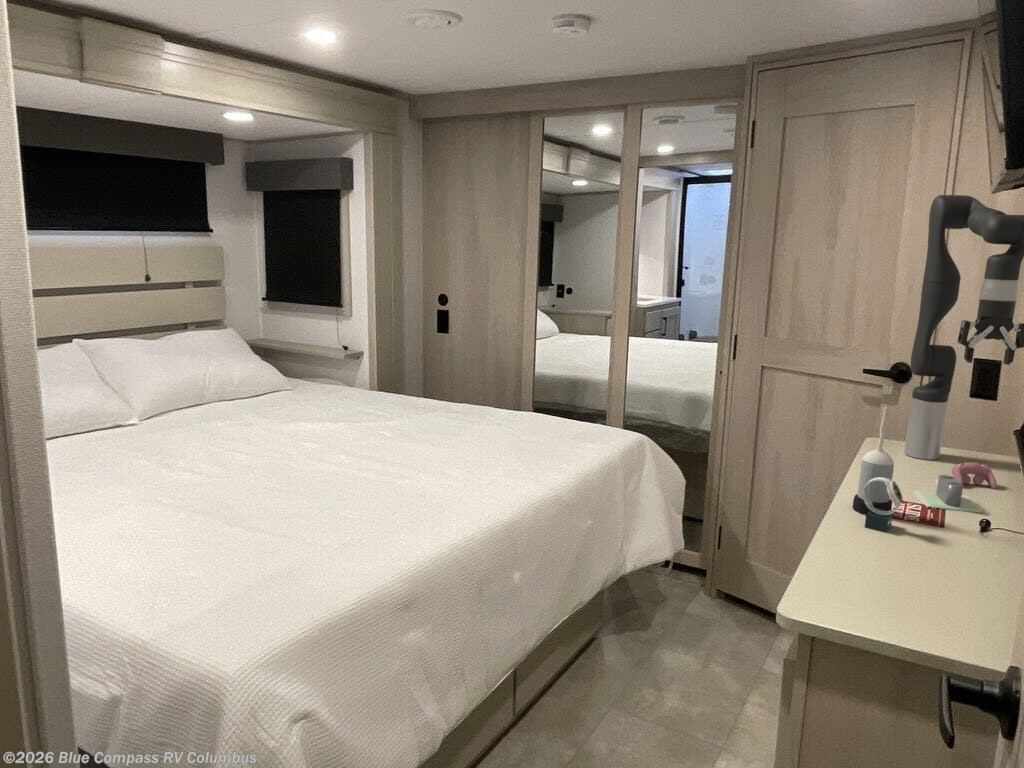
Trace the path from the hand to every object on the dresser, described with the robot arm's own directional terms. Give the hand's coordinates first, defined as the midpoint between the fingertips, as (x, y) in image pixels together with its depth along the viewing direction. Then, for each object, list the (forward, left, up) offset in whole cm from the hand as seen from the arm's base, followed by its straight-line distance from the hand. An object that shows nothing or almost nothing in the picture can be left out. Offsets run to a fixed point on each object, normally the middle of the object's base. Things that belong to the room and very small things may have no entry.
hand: (987, 363), depth 184 cm
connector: (+12, -9, -32) cm, 36 cm away
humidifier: (+24, -29, -33) cm, 50 cm away
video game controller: (-4, +3, -33) cm, 34 cm away
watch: (+34, -30, -33) cm, 56 cm away
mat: (+13, -9, -33) cm, 36 cm away
